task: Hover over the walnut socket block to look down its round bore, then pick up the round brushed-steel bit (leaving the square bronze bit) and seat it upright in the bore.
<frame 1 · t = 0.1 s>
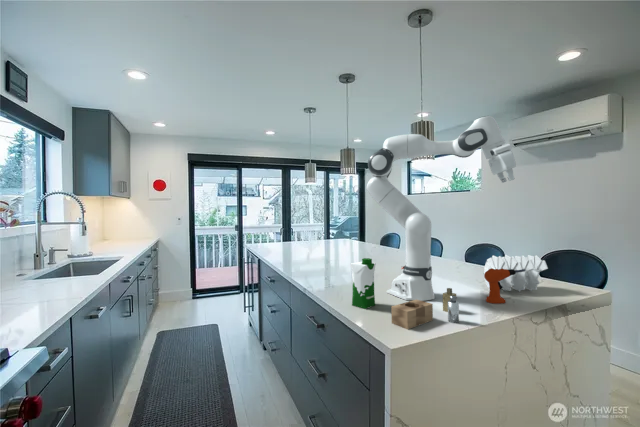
hand: (508, 181, 128), 52 cm above the countertop, tool tilted 20°, fingers open, 8 cm apart
milk carton: (363, 305, 127), on the countertop
spiral staircase: (511, 291, 146), on the countertop
square bit: (449, 311, 118), on the countertop
toy drill: (505, 302, 129), on the countertop
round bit: (453, 321, 107), on the countertop
socket block: (412, 321, 107), on the countertop
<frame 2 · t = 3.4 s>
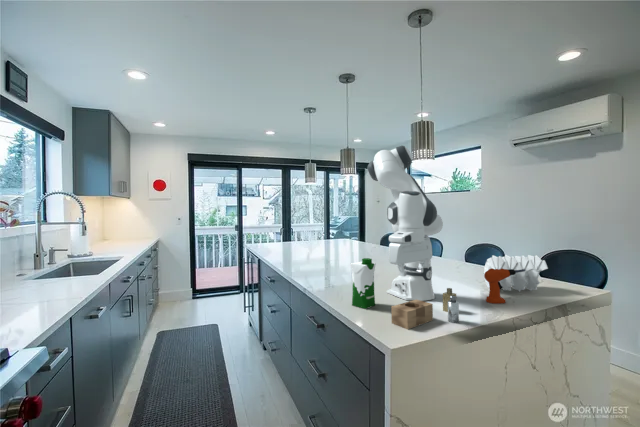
hand: (411, 274, 107), 17 cm above the countertop, tool pointing down, fingers open, 8 cm apart
nothing on the countertop moved.
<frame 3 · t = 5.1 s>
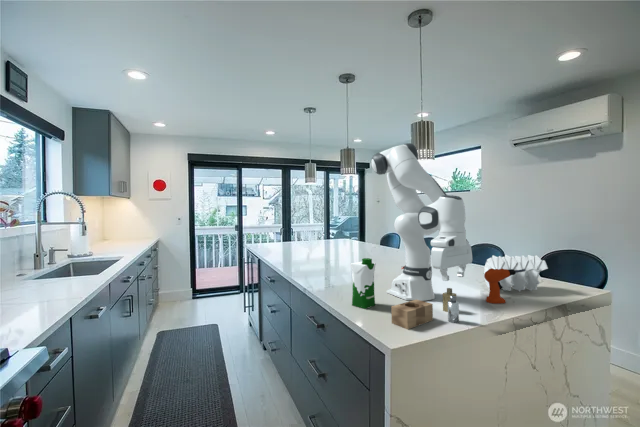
hand: (453, 278, 107), 15 cm above the countertop, tool pointing down, fingers open, 8 cm apart
nothing on the countertop moved.
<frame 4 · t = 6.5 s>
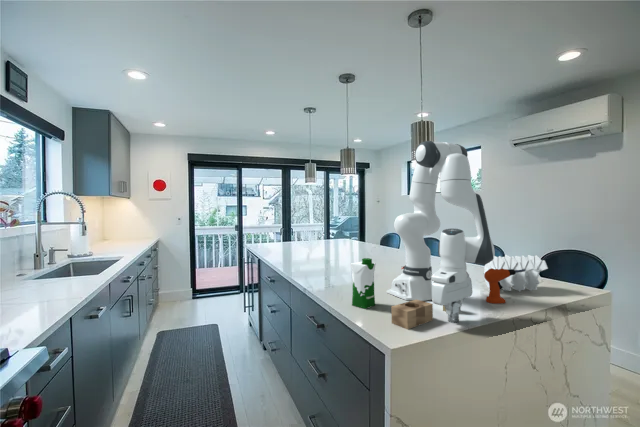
hand: (453, 312, 107), 3 cm above the countertop, tool pointing down, fingers closed on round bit, 4 cm apart
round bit: (453, 321, 107), on the countertop, touching gripper
everything else where it was.
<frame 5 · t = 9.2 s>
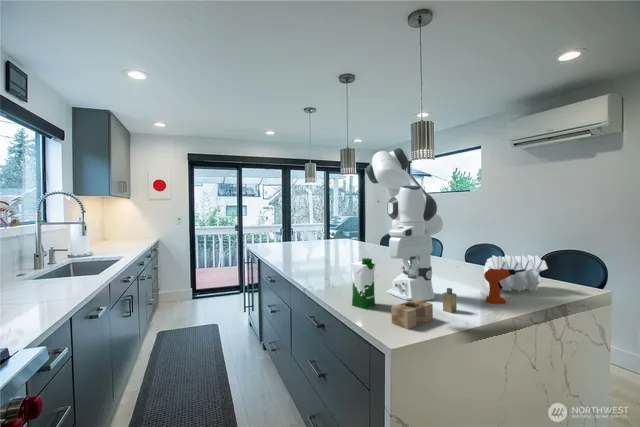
hand: (412, 268, 107), 19 cm above the countertop, tool pointing down, fingers closed on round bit, 4 cm apart
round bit: (413, 277, 107), point 16 cm above the countertop, touching gripper
everything else where it was.
when the fingers open (7 cm above the countertop, at t = 11.4 s): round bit drops 4 cm, resting in socket block.
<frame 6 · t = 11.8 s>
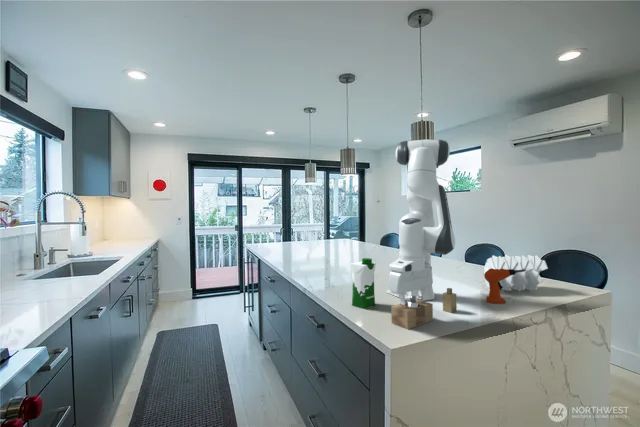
hand: (412, 302, 107), 7 cm above the countertop, tool pointing down, fingers open, 8 cm apart
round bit: (412, 321, 107), resting in socket block
everything else where it was.
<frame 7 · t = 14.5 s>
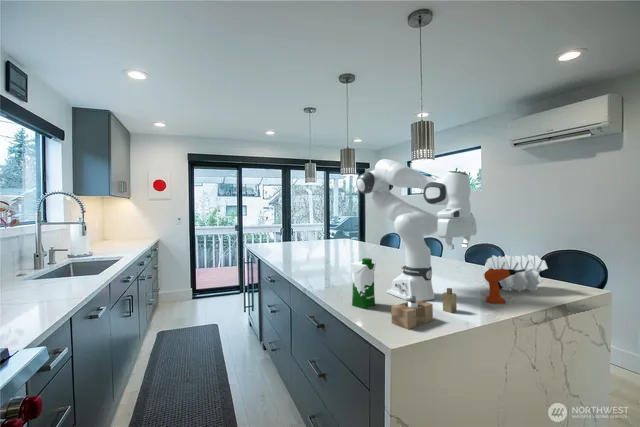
hand: (458, 248, 116), 25 cm above the countertop, tool pointing down, fingers open, 8 cm apart
nothing on the countertop moved.
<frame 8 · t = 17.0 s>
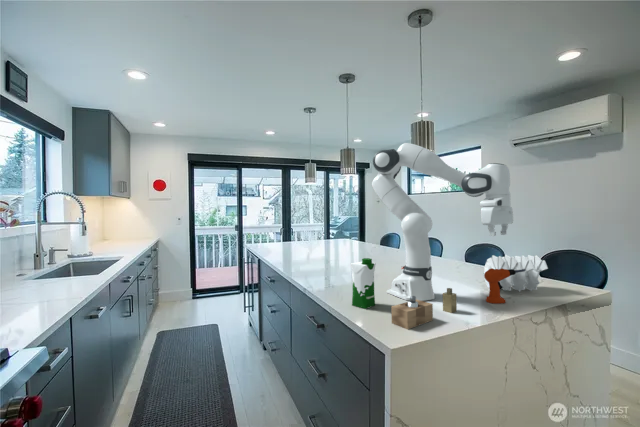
hand: (498, 235, 124), 29 cm above the countertop, tool pointing down, fingers open, 8 cm apart
nothing on the countertop moved.
at the end: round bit 0.1 cm off-centre on the socket block, point 0.0 cm above the socket block's base; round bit tilted 2°; the gripper is holding nothing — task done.
